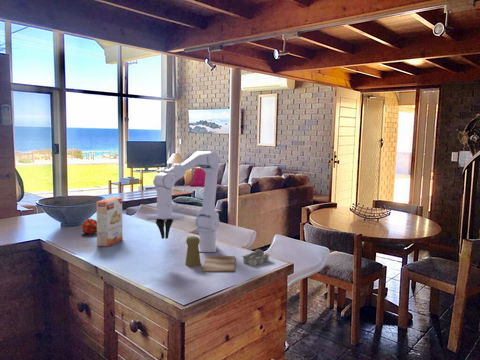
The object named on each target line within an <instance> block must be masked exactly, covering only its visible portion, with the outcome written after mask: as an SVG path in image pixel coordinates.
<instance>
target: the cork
mask: <svg viewBox="0 0 480 360" xmlns="http://www.w3.org/2000/svg"><path fill="white" fill-rule="evenodd" d="M185 242H186V243H185V244H186V245H187V250H186V257H185V263H184V264H185V266H187V267H190V268H191V267H194V268H195V267H198V266H199V267H200V266H201V264H202V263H201V257H200V252H199V242H200V240H199V237H198V236H194V235H193V236H189V237H187V238H186V241H185Z"/></svg>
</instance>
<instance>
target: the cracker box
mask: <svg viewBox="0 0 480 360" xmlns="http://www.w3.org/2000/svg"><path fill="white" fill-rule="evenodd" d="M95 204H96V221H97V233H96V247H97V246H98V247H110V246H113V245H114V244H117V243H118V242H121V241H123V198H122V197H109V198H105V199H102V200H98V201H96V202H95Z"/></svg>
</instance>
